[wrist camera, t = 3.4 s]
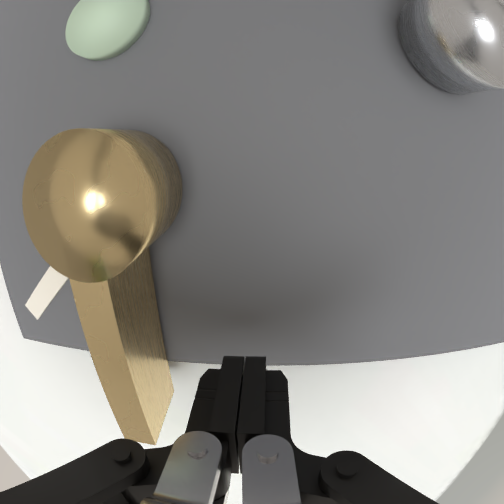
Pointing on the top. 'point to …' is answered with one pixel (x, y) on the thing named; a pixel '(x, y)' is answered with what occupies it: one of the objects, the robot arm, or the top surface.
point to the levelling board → (268, 175)
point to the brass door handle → (110, 256)
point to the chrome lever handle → (455, 43)
